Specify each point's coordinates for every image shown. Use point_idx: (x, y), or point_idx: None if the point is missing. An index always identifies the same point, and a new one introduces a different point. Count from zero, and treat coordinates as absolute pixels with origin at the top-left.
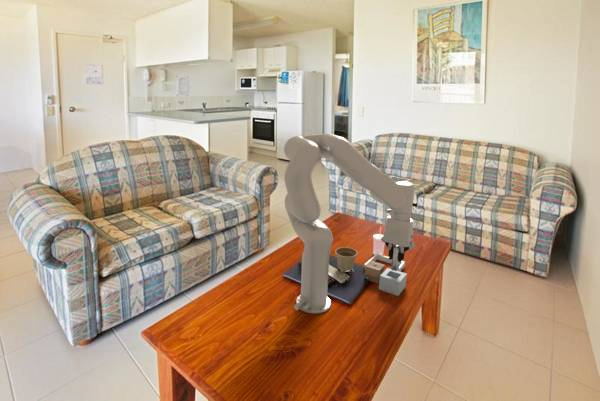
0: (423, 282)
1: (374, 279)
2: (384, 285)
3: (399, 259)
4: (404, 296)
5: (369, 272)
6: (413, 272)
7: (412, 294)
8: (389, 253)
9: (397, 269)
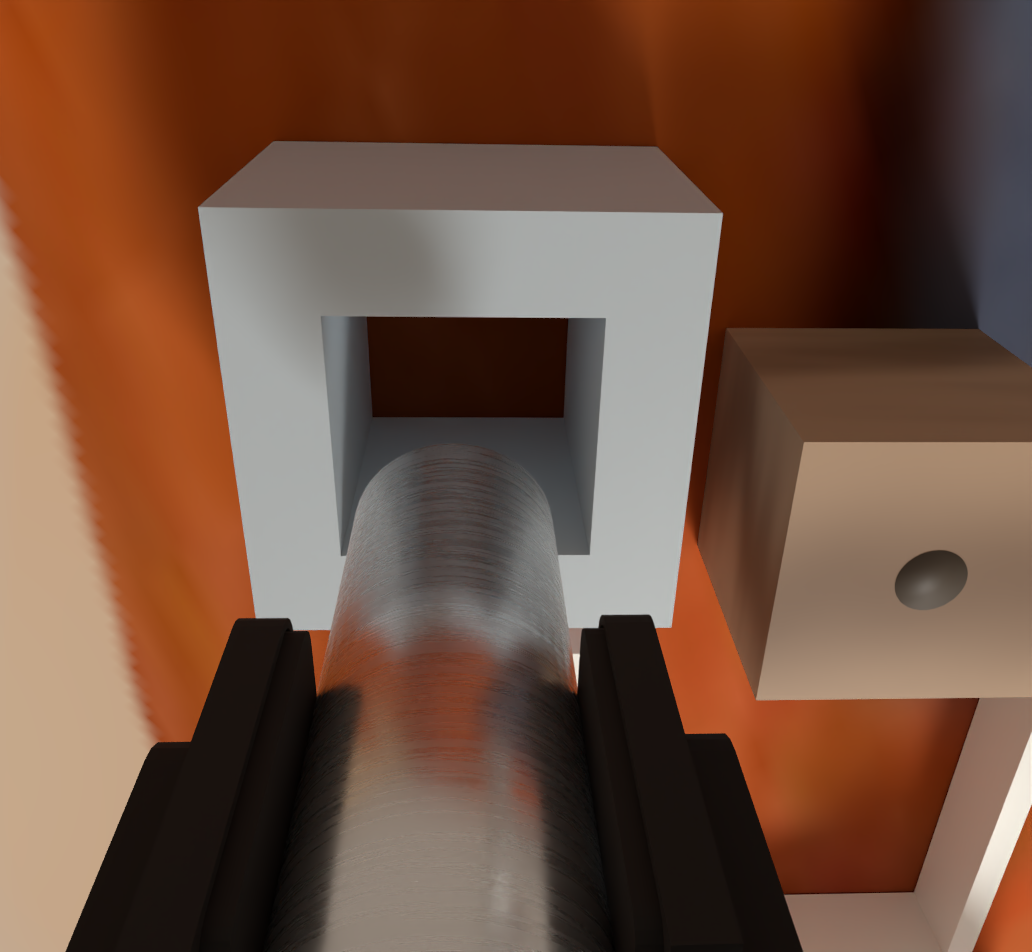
0: (167, 730)
1: (810, 348)
2: (561, 169)
3: (231, 685)
4: (182, 200)
5: (966, 392)
6: None
7: (115, 345)
8: (717, 817)
9: (360, 505)
